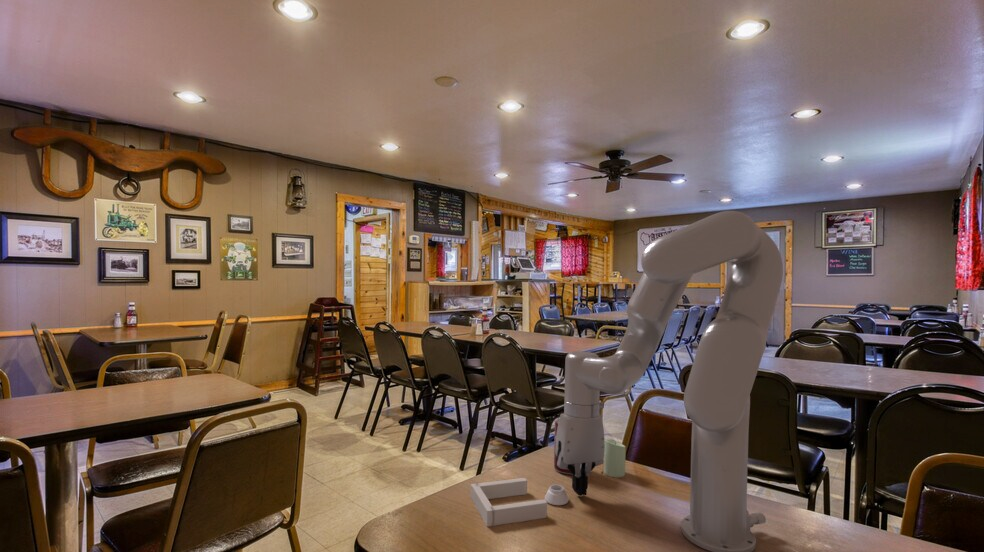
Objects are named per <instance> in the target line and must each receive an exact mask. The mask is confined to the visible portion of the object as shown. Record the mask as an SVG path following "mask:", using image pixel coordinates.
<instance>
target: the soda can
mask: <svg viewBox="0 0 984 552" xmlns="http://www.w3.org/2000/svg"><path fill="white" fill-rule="evenodd" d="M558 423H559V418H558V419H556V420H555V422H554V441H553V442H554V450H553V451H554V452H553V455H554V457H553V467H554V469H555V471H556V472H557V473H560V474H562V475H568V476H572V473H571V472H570V471H569V470H568V469H567V470H566V469H561V468H559V467H558V466H557V462H558V458H559V457H557V456H556V453H555V447H556V436H557V428H558ZM580 464H581V463H580Z"/></svg>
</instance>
